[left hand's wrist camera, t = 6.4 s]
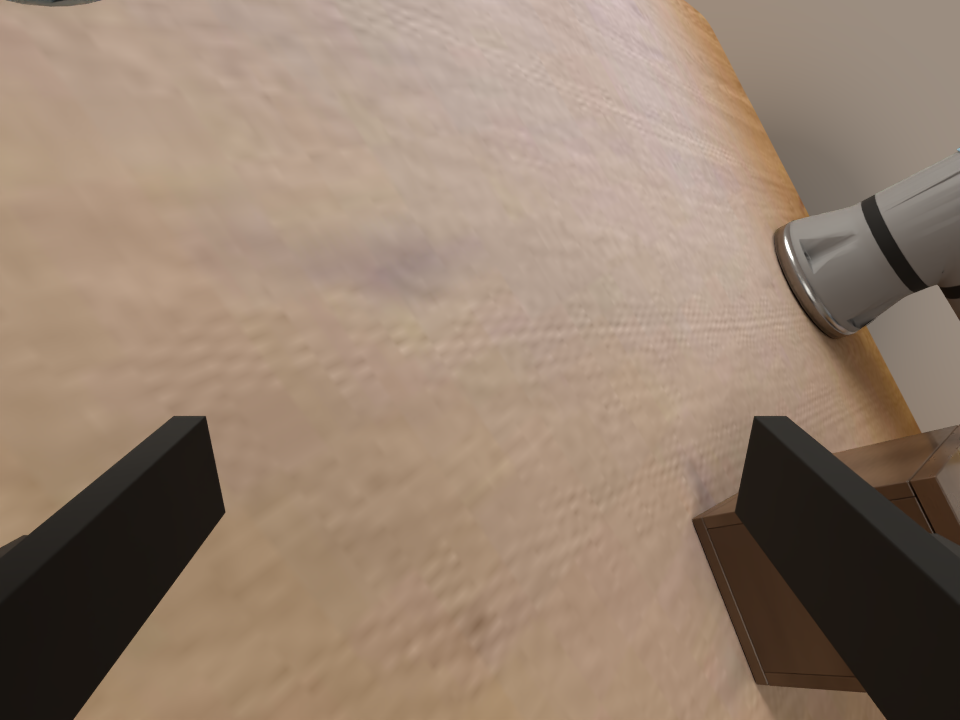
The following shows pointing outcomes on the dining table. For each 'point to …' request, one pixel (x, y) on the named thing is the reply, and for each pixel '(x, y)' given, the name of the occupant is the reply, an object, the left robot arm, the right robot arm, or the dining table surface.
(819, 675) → the chest
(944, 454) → the lid
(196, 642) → the dining table surface
